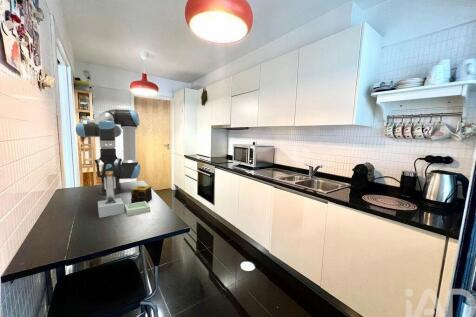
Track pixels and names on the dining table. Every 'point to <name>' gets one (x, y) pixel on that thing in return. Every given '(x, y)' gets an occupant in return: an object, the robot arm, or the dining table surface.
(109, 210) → the block
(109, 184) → the pin
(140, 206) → the tray
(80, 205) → the dining table surface
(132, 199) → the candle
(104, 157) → the robot arm
